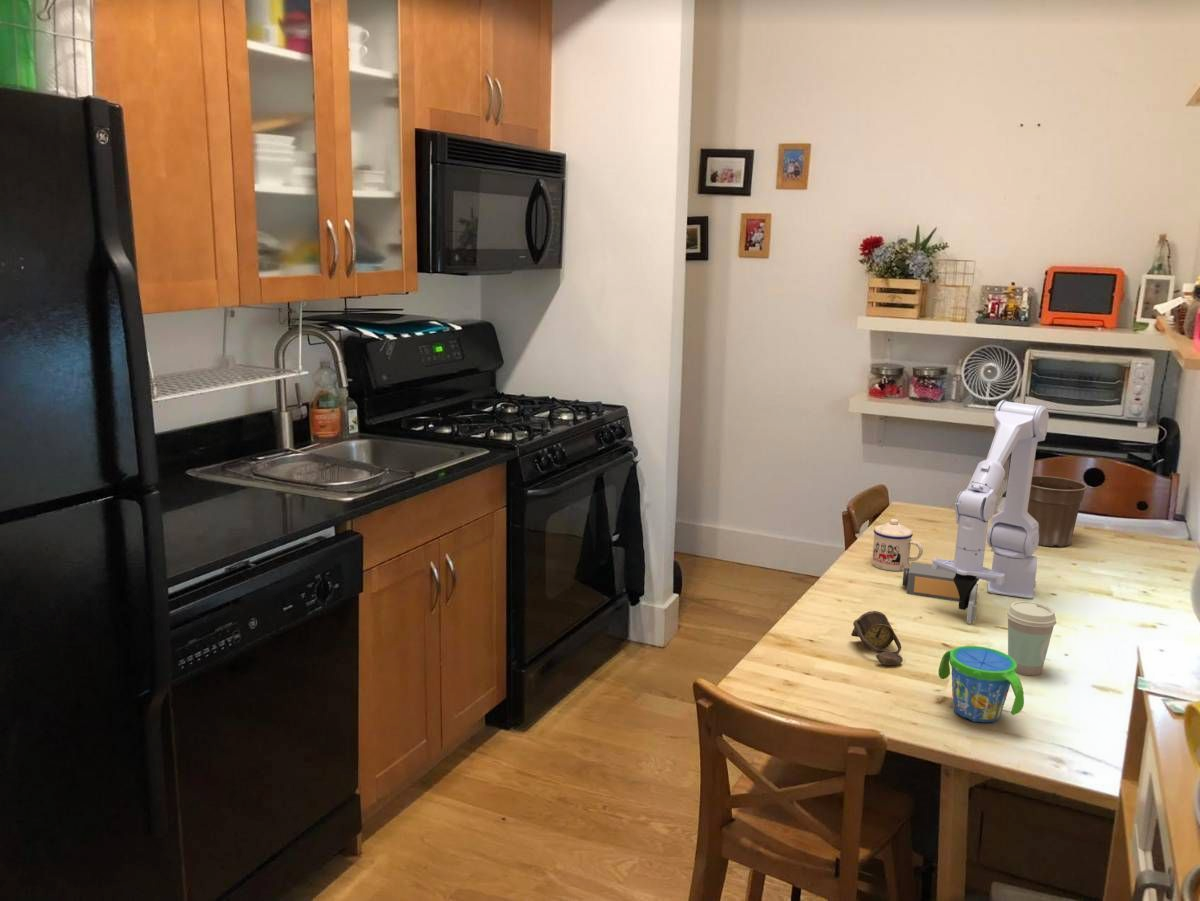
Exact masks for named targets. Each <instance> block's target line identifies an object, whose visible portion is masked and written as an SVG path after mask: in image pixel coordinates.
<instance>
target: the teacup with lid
mask: <svg viewBox="0 0 1200 901" xmlns="http://www.w3.org/2000/svg"><path fill="white" fill-rule="evenodd" d="M873 533H874V534H873V536H874V537H873V547H872V556H871V557H872V558H871V559H872V560H871V563H872V564H871V565H872V566H874V567H876V568H877V569H880V570H883V571H884V570H885V571H888V572H901V571H904V568H908V569H909V568H910V562H915V561H918V560H919V559H920V558H921V557H922V555H923V551H924V548H923V546H922V544H921V543H920V542H919V541H917V540H912V537H913V535H914V534H913V532H912V529H910V528H908V527H906V526H905V525H902V524H901V523H899V520H898V519H896V518H891V519H889V522H885V523H884V524H879V525H876V526H875V527H874V529H873ZM911 545H915V546H916V547H917V548H918V554H917V556H916V557H910V555H911Z"/></svg>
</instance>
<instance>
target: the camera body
mask: <svg viewBox="0 0 1200 901" xmlns="http://www.w3.org/2000/svg"><path fill="white" fill-rule="evenodd" d="M955 575H956V573H953V572H949V571H944V570H940V569H932V563H930V564H929V563H923V562H915V561H910V564H909V567H908V568H904V570H903V574H902V586H904V587H906V594H907V595H912V596H913V595H914V596H915V595H916V596H921V597H927V598H934V599H942V600H949V601H955V602H959V599H960V597H959V593H958V590H957V587H956V585H955V583H954V580H953V578H954V577H955ZM970 595H971V593H970ZM970 595H969V600H970Z"/></svg>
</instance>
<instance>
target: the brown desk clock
mask: <svg viewBox="0 0 1200 901" xmlns="http://www.w3.org/2000/svg"><path fill="white" fill-rule="evenodd" d="M850 635H851V636H852V637H856V638H857V637H858V638H859V639H860V641H861V643H862V645H863V646H864V648H866V649H867V650H871V651H873V652H874V653H877V654H876V657H875V658H876V659H877V661H878V662H879V663H880V664H882V665H883V666H891V667H892V666H898V665H900V664H902V662H903V657H902V656H901V655H900V654H899V653H901V651H902V644H901V642H900V639H898V636H897V634H896V632H895V631H894V629H893V627H892V626H891V623H890V622H889V620H888V617H887V616H886V615H885V614H884V613H883V612H880V611H878V610H872V611H871V610H870V611H867V612H865V613H863V614H862V615H860V616H859V617H858V618H857V619H854V621H853V630H852V632H851V633H850ZM893 641H894V643H895V645H896V648H897V650H893V651H890V650H889V651H888V650H884V649H885V648H887V647H889V646H890V645H891V644H892V643H893Z"/></svg>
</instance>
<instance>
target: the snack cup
mask: <svg viewBox="0 0 1200 901" xmlns="http://www.w3.org/2000/svg"><path fill="white" fill-rule="evenodd" d="M1016 669H1017V663H1016V662H1015V660H1014V659H1013V658H1011V657H1010V656H1009V655H1008V653H1007V654H1006V653H1005V652H1002V651H1000V650H998V649H994V648H991V647H985V646H980V645H963V646H958V647H955V648H953V649H950V650H947V651H946V652H945V653H944V654H943V655H942V657H941V660H940V663H939V666H938V676H939V678H940V679H941V680H947V678H949V677H950V674H951V687H952V688H951V689H952V690H951V692H952V706H953V711H954V712H955V713H956V714H958V715H959V716H961V717H962V718H965V719H968V720H969V721H972V722H973V723H976V722H980V723H995V722H996V721H997V720H999V718H1000V717H1001V715H1002V712H1003V709H1004V705H1005V703H1006V701H1007V696H1008V694H1009V690H1010V686H1011V689H1012V692H1013V695H1014V697H1015V698H1014V701H1013V704H1012V707H1011V711H1010V714H1011V715H1012V716H1014V715H1016V714H1017V715H1018V714H1019V713H1020V712H1021V711H1023V708H1024V705H1025V696H1024V688H1023V684H1022V682H1021V679H1020V677H1019V675H1018V674H1017V672H1016Z"/></svg>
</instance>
